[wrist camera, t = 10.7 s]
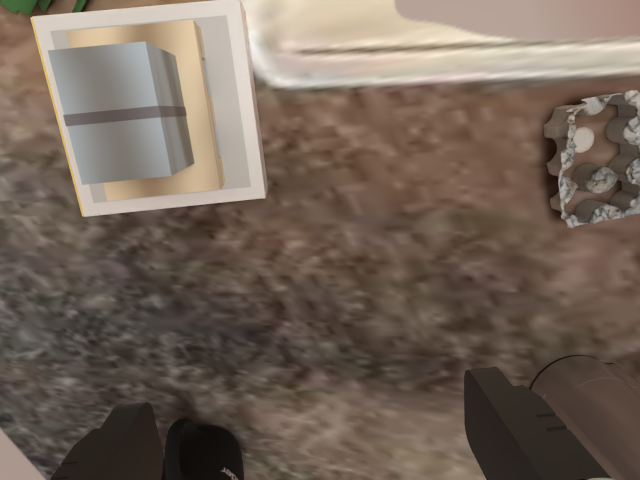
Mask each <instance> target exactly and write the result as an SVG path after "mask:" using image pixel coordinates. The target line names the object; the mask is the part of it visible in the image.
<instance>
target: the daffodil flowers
mask: <svg viewBox="0 0 640 480" xmlns="http://www.w3.org/2000/svg"><path fill="white" fill-rule="evenodd" d="M37 1H38V5H39V7H40V9H41V10H42V11H44V12H45V11H46V10H47V8H48V6H49V4H50V2H51V0H0V3H1V4H2V5H3V6H4V7H5V8H7V9H8V10H10V11H11V12H13V13H15V14H17V13H18V11H20V12H22V13H25V14H27V15H31V14H32V12H33V10H34V8H35V6H36V3H37ZM86 1H87V0H78V1H77V3H76V5H75V7H74V9H73V11H72V13H78V12H81V11H82V9H83V7H84V5H85V3H86Z"/></svg>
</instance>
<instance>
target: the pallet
mask: <svg viewBox="0 0 640 480" xmlns="http://www.w3.org/2000/svg"><path fill="white" fill-rule="evenodd" d="M66 33H67V37H68V41H69V45H70V48H67V49H57V50H48V54H49V58H50V62H51V66H52V70H53V74H54V78H55V81H56V85H57V89H58V93H59V97H60V101H61V105H62V109H63V112H64V115H63V117H64V121H65V125H66V126H67V128H68V132H69V136H70V140H71V144H72V147H73V151H74V155H75V159H76V163H77V167H78V171H79V175H80V178H81V182H82V185H87V184H96V183H103V185H104V189H105V193H106V197H107V201H114V200H123V199H133V198H143V197H152V196H162V195H172V194H181V193H191V192H201V191H210V190H220V189H221V188H222V187H223V185H224V184H225V177H224V171H223V165H222V158H221V156H220V157H218V154H217V148H216V142H215V136H214V130H213V124H216V121H215V115H214V108H213V102H212V96H211V95H209V94H208V93H207V86H206V80H205V74H204V68H203V62H202V60H204V59H206V58H205V52H204V45H203V39H202V33H201V28H200V27H199V26H198V25H197V24H196V22H195V21H194V20H184V21H173V22H162V23H151V24H140V25H129V26H118V27H107V28H96V29H85V30H74V31H66Z"/></svg>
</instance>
